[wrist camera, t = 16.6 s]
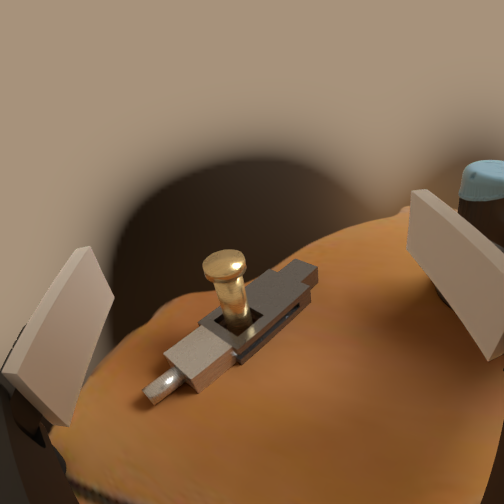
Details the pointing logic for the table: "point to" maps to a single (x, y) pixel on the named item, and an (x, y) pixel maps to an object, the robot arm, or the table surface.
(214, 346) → the clevis
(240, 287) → the clevis pin
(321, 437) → the table surface
